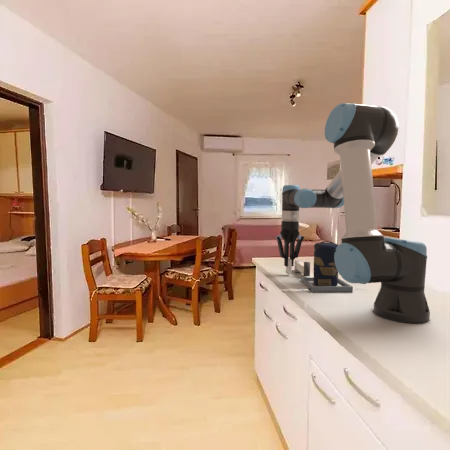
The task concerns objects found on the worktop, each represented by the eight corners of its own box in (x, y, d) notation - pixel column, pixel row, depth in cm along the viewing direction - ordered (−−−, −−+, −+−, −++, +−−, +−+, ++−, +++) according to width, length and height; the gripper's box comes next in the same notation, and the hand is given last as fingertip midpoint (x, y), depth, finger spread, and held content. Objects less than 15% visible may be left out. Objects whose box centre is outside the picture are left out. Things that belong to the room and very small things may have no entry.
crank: (293, 270, 156) (294, 256, 156) (301, 270, 156) (301, 256, 156) (303, 278, 141) (303, 262, 140) (311, 278, 141) (312, 262, 140)
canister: (339, 289, 125) (341, 242, 124) (313, 288, 127) (315, 241, 126) (335, 283, 135) (337, 239, 133) (312, 282, 137) (313, 238, 135)
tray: (352, 292, 124) (352, 286, 124) (311, 292, 123) (312, 286, 123) (337, 282, 139) (337, 277, 138) (300, 282, 138) (300, 277, 137)
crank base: (306, 275, 152) (306, 273, 152) (293, 275, 151) (293, 273, 151) (302, 272, 158) (302, 270, 158) (290, 272, 157) (290, 270, 157)
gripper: (279, 221, 139) (277, 275, 141) (307, 221, 142) (305, 275, 144) (273, 219, 147) (271, 272, 148) (300, 220, 149) (298, 271, 151)
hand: (288, 273), depth 146 cm, fingers closed
